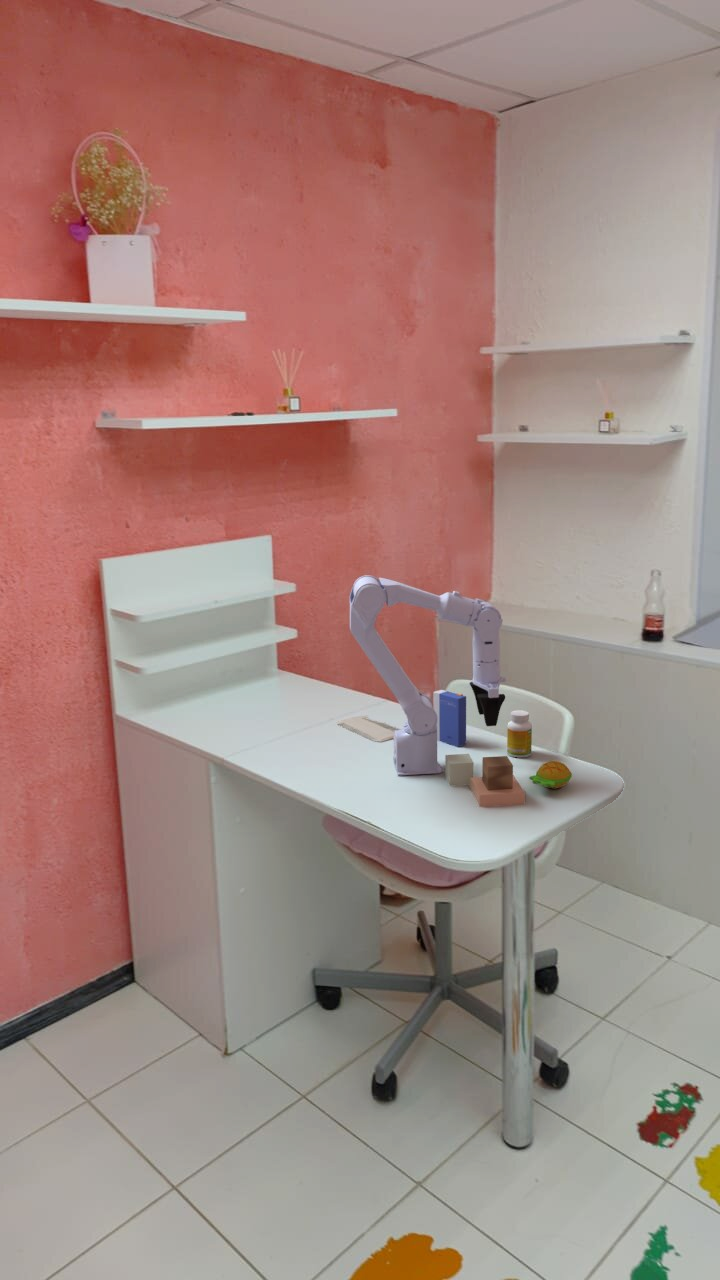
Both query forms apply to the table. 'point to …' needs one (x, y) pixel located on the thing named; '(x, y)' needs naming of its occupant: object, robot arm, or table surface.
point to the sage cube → (459, 769)
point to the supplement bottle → (519, 734)
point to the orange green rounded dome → (552, 775)
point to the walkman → (450, 717)
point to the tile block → (496, 794)
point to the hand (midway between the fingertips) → (487, 719)
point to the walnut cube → (497, 773)
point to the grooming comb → (369, 728)
